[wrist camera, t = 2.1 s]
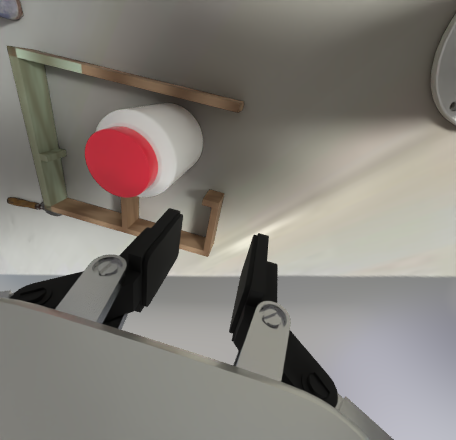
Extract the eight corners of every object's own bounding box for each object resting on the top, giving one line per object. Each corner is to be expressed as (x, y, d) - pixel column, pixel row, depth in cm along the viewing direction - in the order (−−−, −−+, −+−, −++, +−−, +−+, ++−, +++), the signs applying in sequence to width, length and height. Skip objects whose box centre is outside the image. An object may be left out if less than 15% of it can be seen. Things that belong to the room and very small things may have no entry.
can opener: (13, 201, 38) (6, 204, 37) (10, 188, 37) (2, 191, 36) (65, 217, 38) (59, 221, 37) (63, 205, 37) (57, 208, 36)
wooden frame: (244, 101, 24) (240, 103, 22) (213, 244, 34) (207, 257, 32) (33, 49, 26) (5, 45, 23) (62, 200, 36) (45, 209, 33)
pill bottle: (165, 85, 25) (97, 85, 16) (216, 141, 27) (183, 170, 17) (129, 137, 29) (56, 162, 19) (176, 182, 30) (131, 225, 21)
